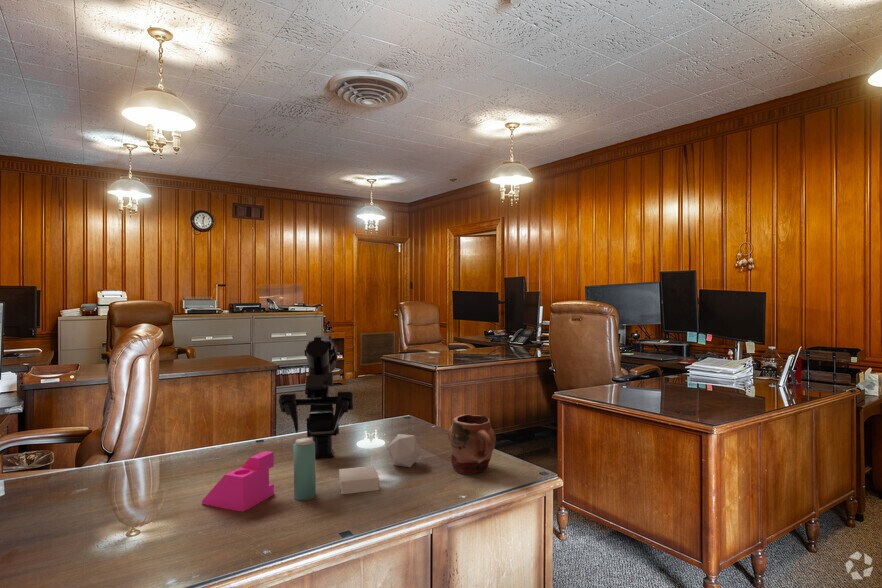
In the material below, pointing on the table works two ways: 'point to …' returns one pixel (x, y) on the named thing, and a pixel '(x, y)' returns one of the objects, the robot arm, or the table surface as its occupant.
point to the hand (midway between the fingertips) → (315, 431)
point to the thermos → (304, 469)
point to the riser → (358, 479)
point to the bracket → (244, 485)
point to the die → (404, 450)
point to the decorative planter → (471, 443)
